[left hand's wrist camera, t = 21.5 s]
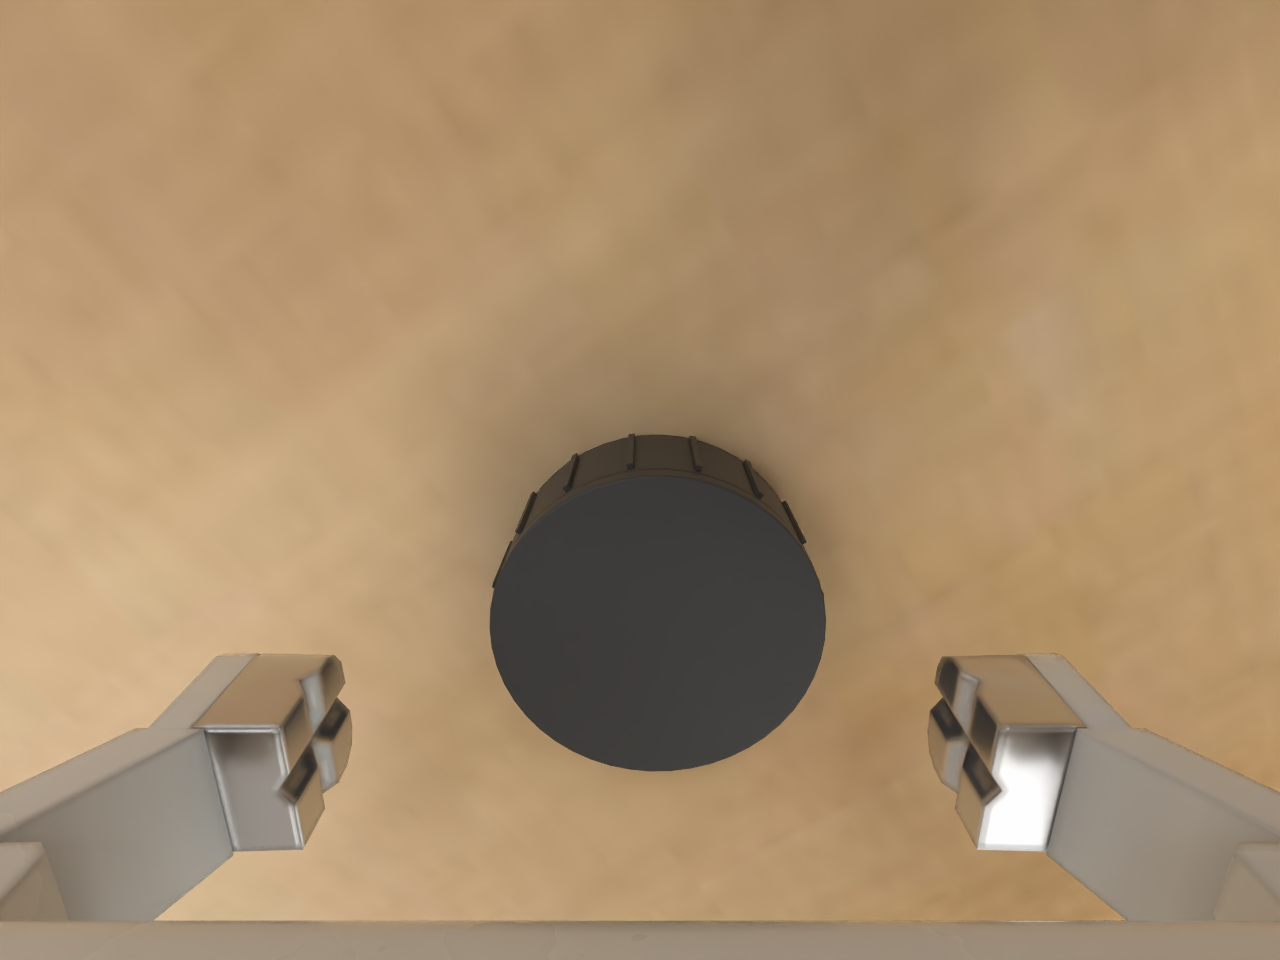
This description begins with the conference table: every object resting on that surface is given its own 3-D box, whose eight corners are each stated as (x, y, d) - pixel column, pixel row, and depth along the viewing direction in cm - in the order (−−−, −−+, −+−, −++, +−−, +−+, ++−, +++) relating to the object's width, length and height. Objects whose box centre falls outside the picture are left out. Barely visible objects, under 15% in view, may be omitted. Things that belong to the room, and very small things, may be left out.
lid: (463, 491, 14) (430, 542, 12) (749, 389, 14) (769, 422, 11) (576, 725, 16) (565, 810, 14) (833, 645, 15) (866, 719, 13)
